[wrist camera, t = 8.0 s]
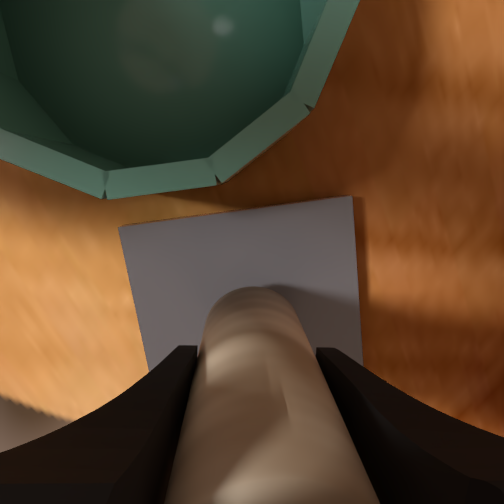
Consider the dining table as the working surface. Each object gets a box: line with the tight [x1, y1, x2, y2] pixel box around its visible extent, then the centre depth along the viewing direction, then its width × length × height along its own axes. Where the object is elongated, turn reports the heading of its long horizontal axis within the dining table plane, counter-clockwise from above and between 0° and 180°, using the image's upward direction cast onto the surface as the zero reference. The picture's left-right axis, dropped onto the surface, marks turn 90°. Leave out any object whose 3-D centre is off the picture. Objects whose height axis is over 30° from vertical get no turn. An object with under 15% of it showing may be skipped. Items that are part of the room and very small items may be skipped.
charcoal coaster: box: [118, 195, 363, 372], centre depth 16 cm, size 10×10×1 cm
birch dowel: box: [164, 286, 380, 504], centre depth 10 cm, size 4×4×9 cm
